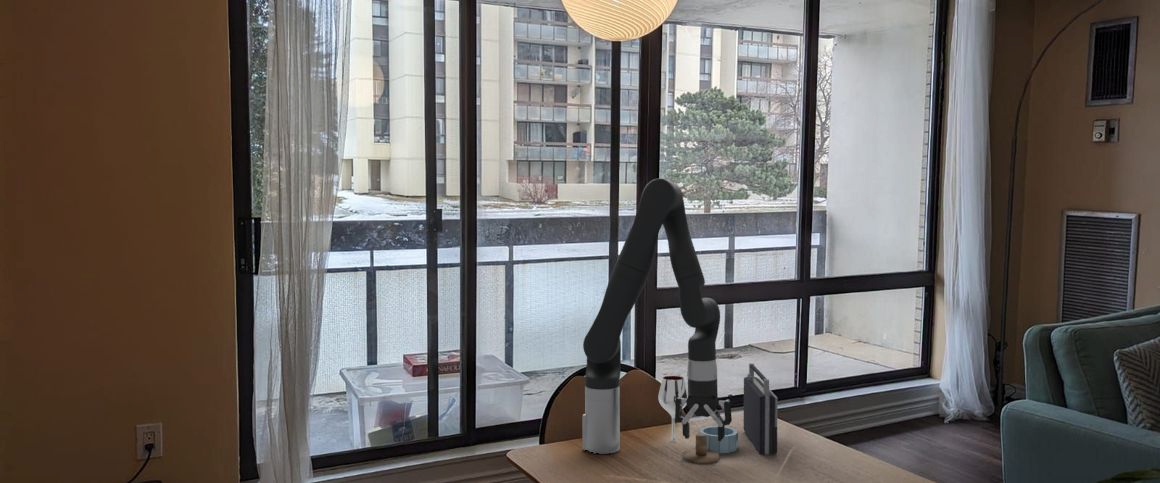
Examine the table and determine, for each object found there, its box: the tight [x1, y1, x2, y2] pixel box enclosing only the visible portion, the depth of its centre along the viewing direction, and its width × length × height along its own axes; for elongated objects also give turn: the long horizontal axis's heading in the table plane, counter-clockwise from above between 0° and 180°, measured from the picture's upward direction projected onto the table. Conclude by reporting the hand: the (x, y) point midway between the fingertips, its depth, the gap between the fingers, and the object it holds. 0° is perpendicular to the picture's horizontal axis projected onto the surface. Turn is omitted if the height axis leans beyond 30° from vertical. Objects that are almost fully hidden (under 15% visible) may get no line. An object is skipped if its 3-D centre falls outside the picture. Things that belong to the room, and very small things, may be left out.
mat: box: [679, 454, 723, 467], centre depth 218 cm, size 9×9×1 cm
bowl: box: [698, 425, 739, 454], centre depth 227 cm, size 10×10×5 cm
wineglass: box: [657, 375, 688, 443], centre depth 233 cm, size 8×8×18 cm
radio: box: [743, 362, 778, 455], centre depth 233 cm, size 24×5×20 cm, turn 179°
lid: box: [683, 433, 720, 465], centre depth 218 cm, size 9×9×6 cm
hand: (703, 439), depth 218 cm, fingers open, 8 cm apart
